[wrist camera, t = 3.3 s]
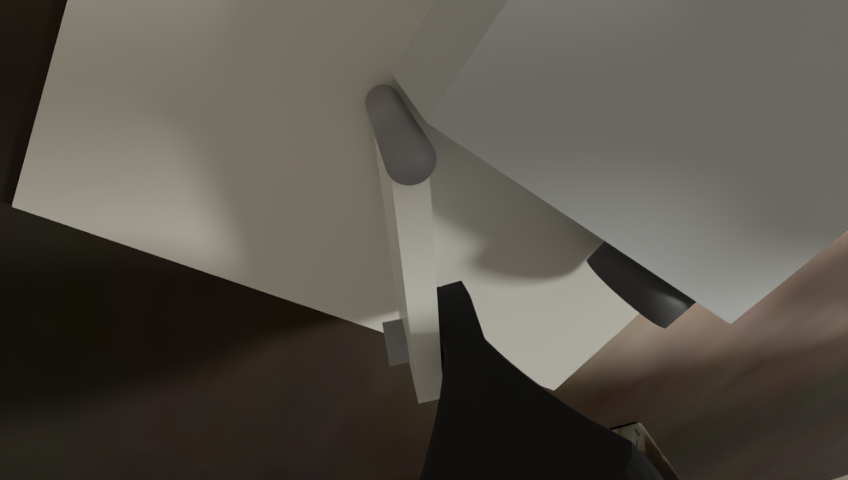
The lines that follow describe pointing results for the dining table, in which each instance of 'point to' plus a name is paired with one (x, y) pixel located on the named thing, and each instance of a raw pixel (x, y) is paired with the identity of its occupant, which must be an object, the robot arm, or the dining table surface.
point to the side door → (408, 237)
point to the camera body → (656, 131)
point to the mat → (294, 168)
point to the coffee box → (648, 449)
